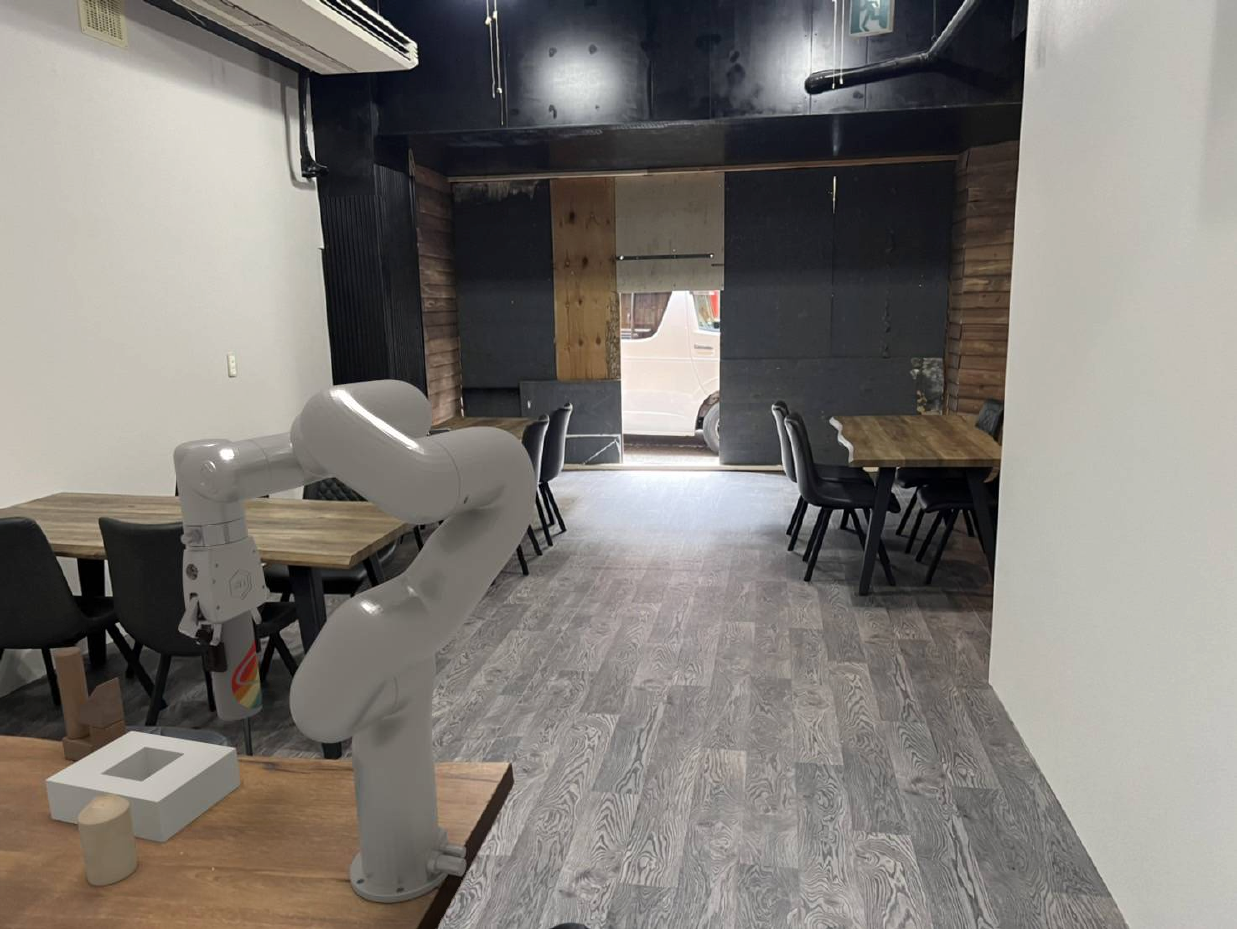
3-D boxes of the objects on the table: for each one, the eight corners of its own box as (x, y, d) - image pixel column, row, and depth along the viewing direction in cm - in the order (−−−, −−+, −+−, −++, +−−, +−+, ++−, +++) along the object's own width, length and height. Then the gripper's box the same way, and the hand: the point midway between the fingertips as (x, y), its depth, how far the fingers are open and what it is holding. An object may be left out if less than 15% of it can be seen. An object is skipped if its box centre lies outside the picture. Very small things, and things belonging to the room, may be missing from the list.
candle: (101, 892, 99) (89, 818, 97) (78, 877, 102) (66, 805, 100) (146, 866, 103) (136, 795, 102) (124, 852, 106) (113, 783, 105)
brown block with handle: (109, 771, 126) (93, 663, 123) (64, 759, 130) (46, 653, 127) (131, 759, 129) (116, 653, 126) (86, 747, 133) (70, 644, 130)
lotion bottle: (271, 707, 112) (254, 568, 109) (233, 725, 108) (214, 580, 104) (247, 699, 115) (229, 564, 112) (209, 716, 111) (189, 575, 107)
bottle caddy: (240, 785, 121) (236, 748, 120) (163, 842, 108) (157, 802, 107) (136, 766, 127) (131, 730, 126) (51, 818, 114) (45, 780, 113)
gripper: (187, 551, 98) (207, 691, 101) (284, 518, 114) (299, 639, 117) (139, 549, 100) (160, 686, 103) (241, 516, 116) (256, 635, 120)
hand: (233, 660), depth 110 cm, fingers closed on lotion bottle, 5 cm apart
